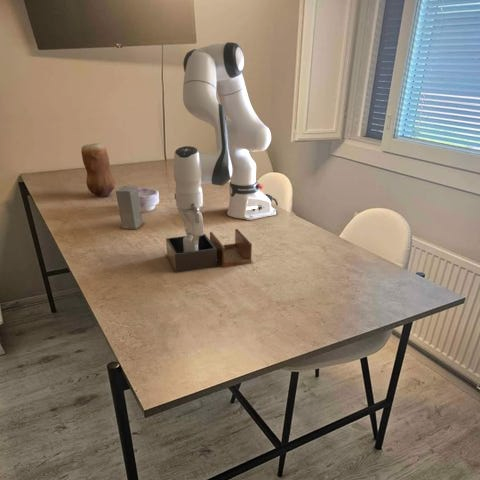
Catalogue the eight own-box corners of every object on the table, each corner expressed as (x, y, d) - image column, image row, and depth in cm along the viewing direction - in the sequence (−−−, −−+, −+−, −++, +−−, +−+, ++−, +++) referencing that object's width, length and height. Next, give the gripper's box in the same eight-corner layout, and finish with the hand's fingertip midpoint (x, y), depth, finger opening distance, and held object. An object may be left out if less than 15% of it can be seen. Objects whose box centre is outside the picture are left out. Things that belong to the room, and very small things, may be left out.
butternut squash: (94, 191, 219) (85, 140, 206) (120, 192, 219) (112, 140, 205) (85, 200, 208) (74, 146, 194) (112, 201, 207) (104, 146, 194)
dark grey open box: (205, 250, 161) (204, 233, 157) (217, 266, 149) (216, 248, 146) (167, 255, 156) (165, 238, 153) (176, 272, 145) (174, 254, 141)
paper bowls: (147, 201, 208) (146, 185, 203) (166, 209, 199) (164, 192, 194) (120, 208, 199) (117, 191, 194) (138, 216, 190) (136, 199, 185)
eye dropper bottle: (188, 263, 150) (186, 230, 143) (183, 256, 154) (181, 225, 147) (199, 261, 151) (198, 229, 145) (194, 254, 156) (193, 223, 149)
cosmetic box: (136, 230, 176) (131, 192, 168) (120, 228, 178) (114, 190, 169) (144, 223, 183) (139, 186, 175) (128, 221, 185) (123, 184, 176)
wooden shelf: (237, 246, 164) (237, 228, 160) (251, 262, 152) (252, 243, 148) (209, 250, 161) (209, 231, 157) (222, 267, 149) (221, 247, 145)
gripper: (207, 209, 134) (209, 249, 141) (190, 190, 150) (193, 227, 157) (188, 211, 132) (190, 252, 140) (173, 192, 148) (176, 229, 155)
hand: (191, 238), depth 149 cm, fingers open, 8 cm apart
